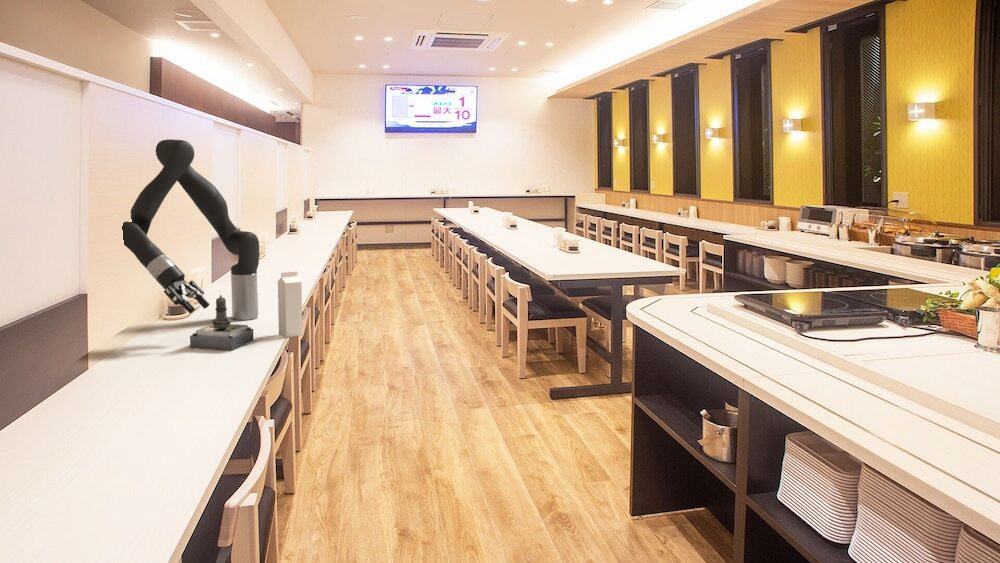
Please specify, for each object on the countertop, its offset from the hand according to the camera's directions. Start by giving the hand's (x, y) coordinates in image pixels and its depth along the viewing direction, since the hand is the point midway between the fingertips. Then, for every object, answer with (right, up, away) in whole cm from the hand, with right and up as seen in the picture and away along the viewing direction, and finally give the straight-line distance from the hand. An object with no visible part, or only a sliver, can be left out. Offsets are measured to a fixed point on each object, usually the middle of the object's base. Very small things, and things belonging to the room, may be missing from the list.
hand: (200, 309), depth 221 cm
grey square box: (+7, -12, +1) cm, 13 cm away
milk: (+24, -10, +17) cm, 31 cm away
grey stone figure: (+7, -7, 0) cm, 10 cm away
